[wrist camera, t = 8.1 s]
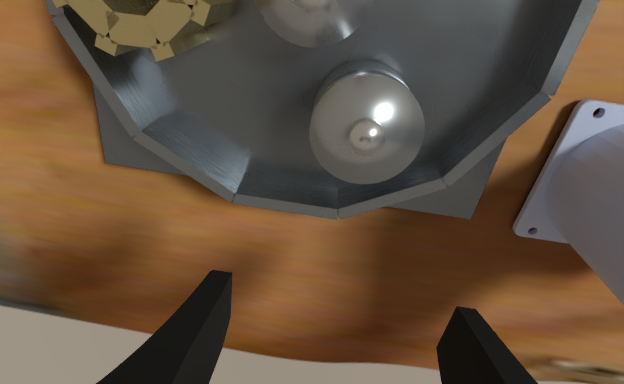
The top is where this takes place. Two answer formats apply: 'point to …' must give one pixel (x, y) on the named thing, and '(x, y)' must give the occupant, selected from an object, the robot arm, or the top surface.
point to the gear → (150, 23)
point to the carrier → (336, 99)
